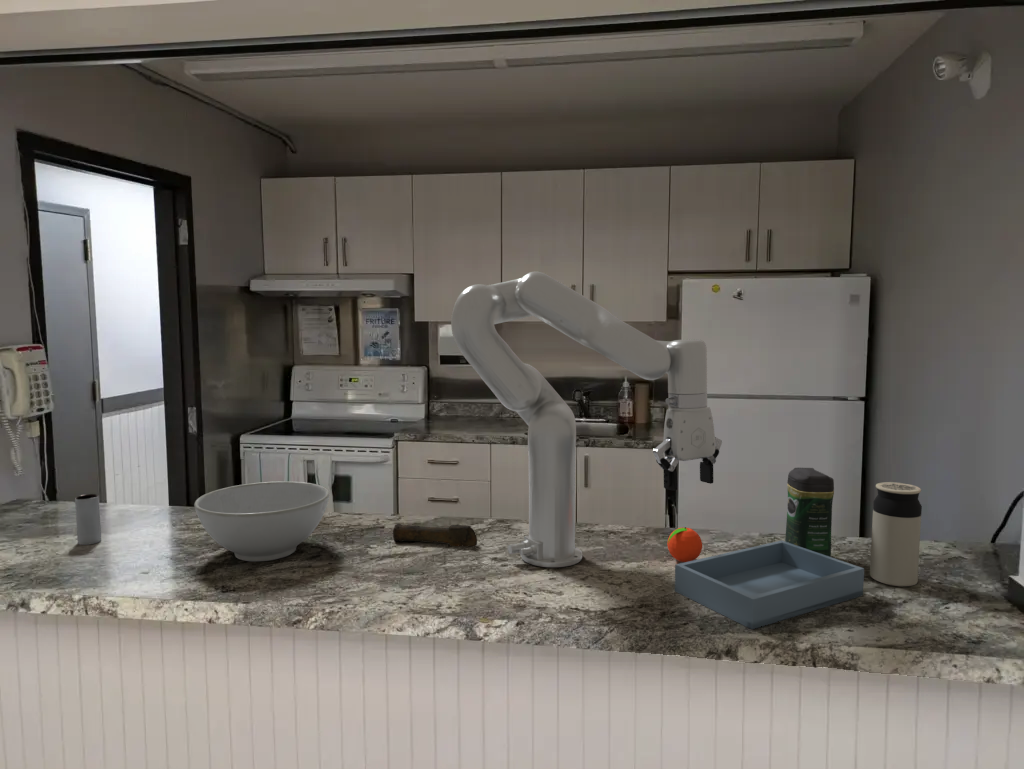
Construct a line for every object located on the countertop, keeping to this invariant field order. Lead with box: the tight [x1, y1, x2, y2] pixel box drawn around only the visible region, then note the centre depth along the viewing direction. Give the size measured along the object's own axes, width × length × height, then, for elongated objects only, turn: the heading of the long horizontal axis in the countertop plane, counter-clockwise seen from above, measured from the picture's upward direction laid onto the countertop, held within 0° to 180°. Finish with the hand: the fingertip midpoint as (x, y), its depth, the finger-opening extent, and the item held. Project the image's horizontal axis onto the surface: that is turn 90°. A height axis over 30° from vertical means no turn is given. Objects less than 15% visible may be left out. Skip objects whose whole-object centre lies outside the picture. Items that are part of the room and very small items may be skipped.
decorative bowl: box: [193, 480, 330, 562], centre depth 149 cm, size 27×27×12 cm
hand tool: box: [392, 523, 478, 547], centre depth 155 cm, size 19×4×5 cm, turn 74°
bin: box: [674, 540, 865, 630], centre depth 127 cm, size 28×18×5 cm, turn 119°
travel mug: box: [869, 481, 922, 588], centre depth 133 cm, size 8×8×18 cm
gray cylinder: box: [74, 493, 102, 546], centre depth 156 cm, size 4×4×10 cm
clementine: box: [666, 526, 703, 563], centre depth 143 cm, size 8×7×7 cm
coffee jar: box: [784, 467, 835, 557], centre depth 145 cm, size 10×8×19 cm
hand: (688, 485), depth 142 cm, fingers open, 9 cm apart
